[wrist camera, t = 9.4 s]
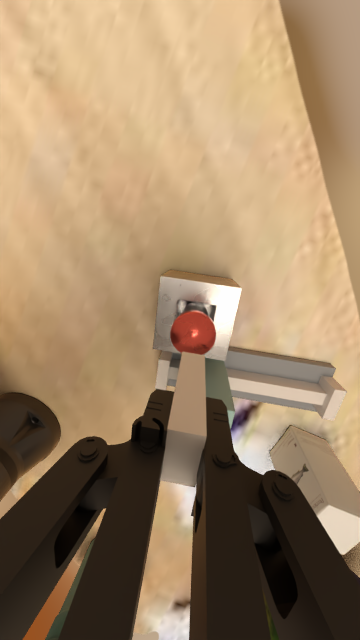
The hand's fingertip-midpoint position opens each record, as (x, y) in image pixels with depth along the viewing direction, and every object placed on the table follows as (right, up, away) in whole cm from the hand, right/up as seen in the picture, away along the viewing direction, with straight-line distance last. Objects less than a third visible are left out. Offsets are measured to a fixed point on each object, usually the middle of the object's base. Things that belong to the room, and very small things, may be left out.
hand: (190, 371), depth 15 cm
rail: (+9, -5, +21) cm, 23 cm away
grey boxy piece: (+2, +6, +18) cm, 19 cm away
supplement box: (+20, -19, +25) cm, 37 cm away
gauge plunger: (+1, +4, +13) cm, 14 cm away
